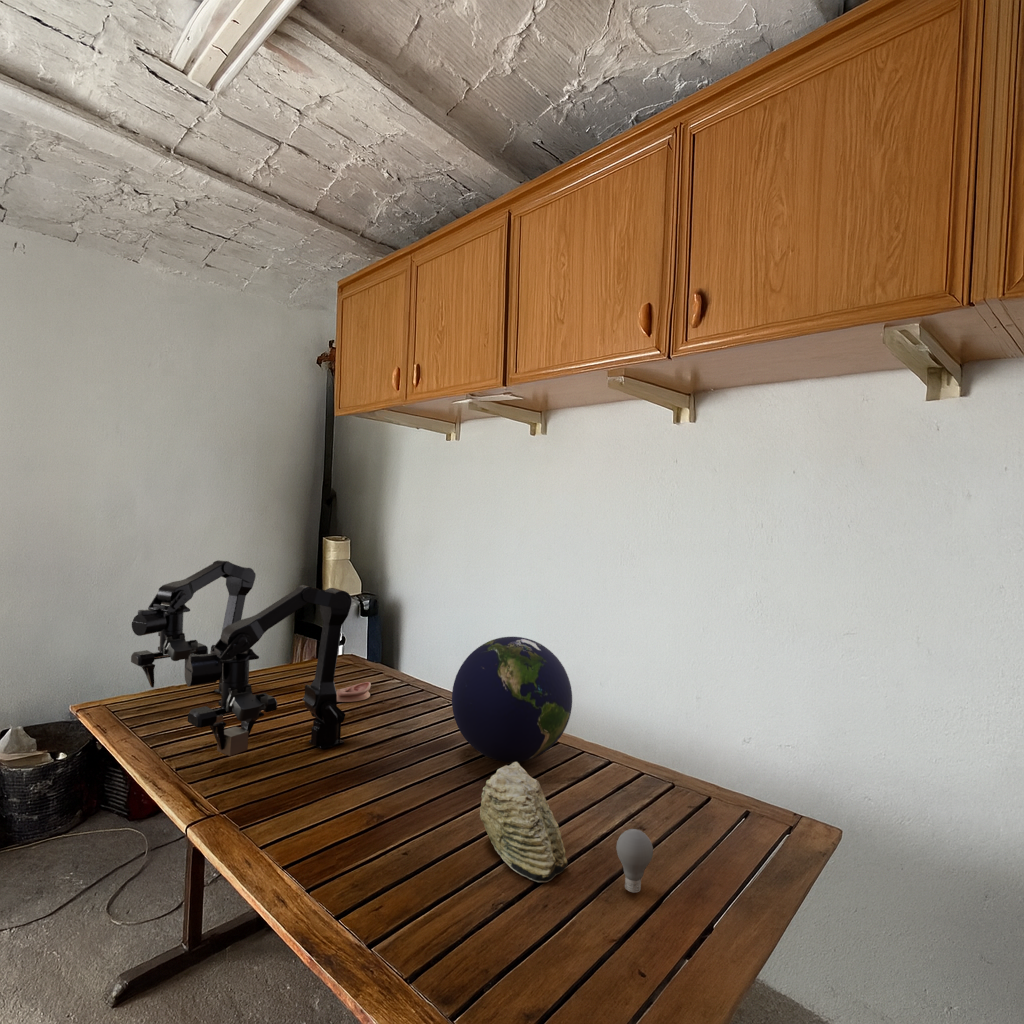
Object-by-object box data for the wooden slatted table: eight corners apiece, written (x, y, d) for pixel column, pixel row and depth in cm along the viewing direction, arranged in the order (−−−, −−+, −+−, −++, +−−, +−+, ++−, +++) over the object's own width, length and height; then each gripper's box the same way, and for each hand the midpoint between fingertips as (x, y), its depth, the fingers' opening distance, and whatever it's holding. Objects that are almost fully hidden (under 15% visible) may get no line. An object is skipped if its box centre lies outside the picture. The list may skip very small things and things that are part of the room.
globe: (497, 727, 179) (502, 621, 178) (591, 755, 161) (596, 638, 161) (424, 759, 155) (429, 637, 154) (524, 797, 137) (530, 659, 137)
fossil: (501, 827, 124) (504, 751, 124) (575, 868, 111) (578, 784, 111) (467, 843, 118) (470, 763, 118) (541, 889, 105) (545, 799, 105)
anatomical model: (319, 687, 195) (337, 677, 207) (319, 699, 195) (336, 689, 207) (359, 691, 193) (375, 681, 204) (359, 704, 193) (374, 693, 204)
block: (216, 751, 146) (217, 731, 146) (234, 745, 150) (235, 726, 150) (229, 756, 144) (230, 736, 144) (247, 750, 148) (248, 730, 148)
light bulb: (610, 879, 108) (613, 822, 108) (644, 879, 109) (647, 822, 109) (619, 902, 102) (622, 840, 102) (655, 901, 103) (658, 840, 103)
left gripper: (147, 638, 167) (145, 697, 167) (217, 629, 181) (215, 683, 182) (131, 631, 174) (129, 688, 175) (200, 623, 189) (198, 675, 189)
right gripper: (210, 696, 134) (207, 769, 135) (290, 679, 149) (287, 745, 149) (187, 684, 142) (185, 753, 142) (266, 670, 156) (264, 733, 156)
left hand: (169, 684), depth 180 cm, fingers open, 9 cm apart
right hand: (232, 746), depth 147 cm, fingers closed on block, 5 cm apart
